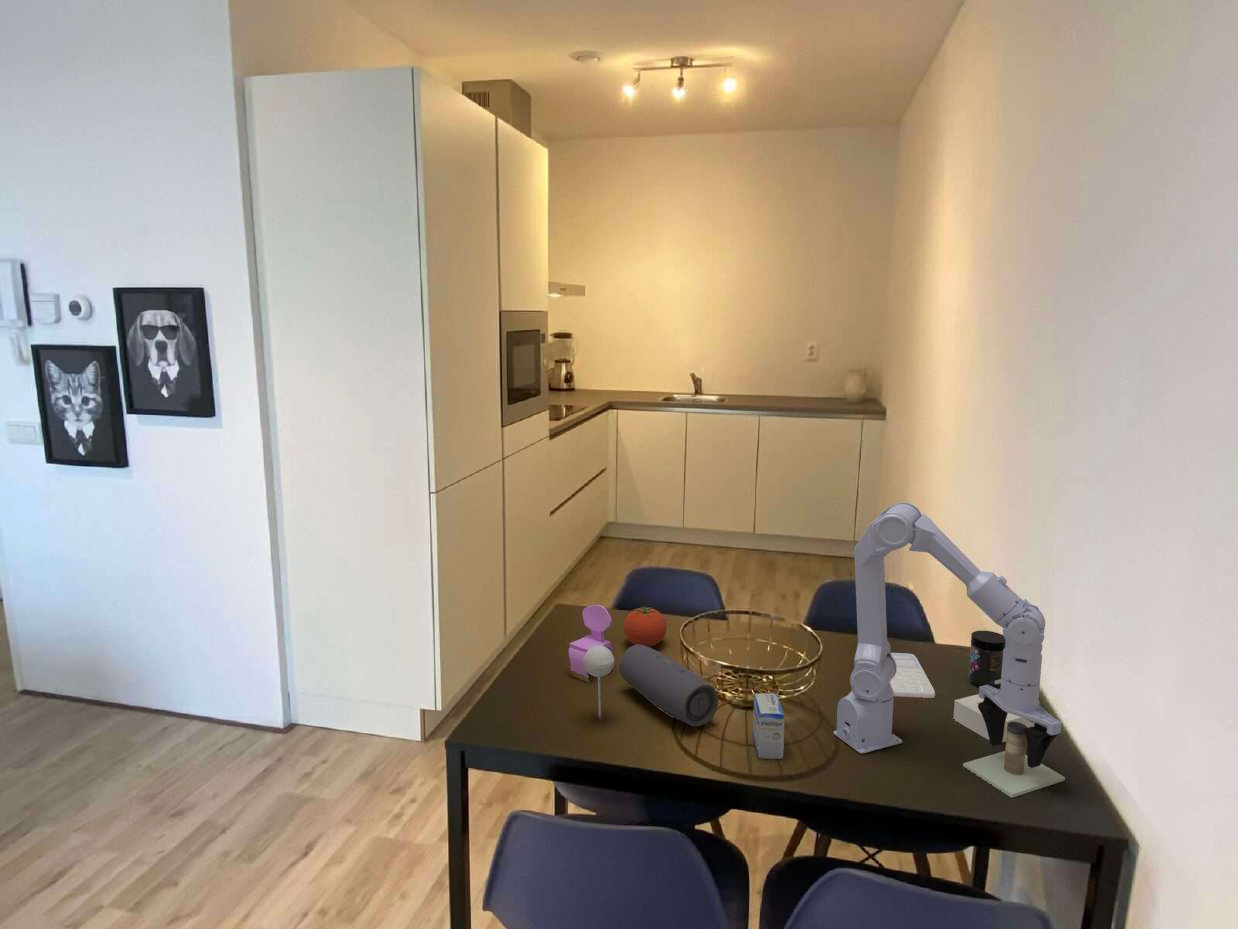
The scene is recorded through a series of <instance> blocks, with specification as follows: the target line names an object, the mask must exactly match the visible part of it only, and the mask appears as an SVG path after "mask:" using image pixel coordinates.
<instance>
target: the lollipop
mask: <svg viewBox="0 0 1238 929" xmlns="http://www.w3.org/2000/svg"><path fill="white" fill-rule="evenodd" d="M583 664H584V667H585V669H586V671H587V673H588V675H590V676H592V677H595V678H597V692H598V693H597V696H598V699H597V700H598V701H597V702H598V703H597V704H598V706H597V707H598V716H599V715H601V716H602V708H601V707H602V699H601V697H602V696H601V678H602V677H605V676H608V675H609V674H610V673H611V672H612V671H613V670H612V668H613V665H614V666H615V657H614V654H613V653H612V650H611V651H610V650H609V649H608V648H606V647H604V646H594V647H592V648H590V649H589V650H588V651H587V652H586V654H585V656H584V658H583Z"/></svg>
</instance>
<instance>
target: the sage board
mask: <svg viewBox="0 0 1238 929" xmlns="http://www.w3.org/2000/svg"><path fill="white" fill-rule="evenodd" d="M1027 755H1028V754H1025V763H1024V773H1023V774H1021V775H1014V774H1010V773H1008V772H1006V771H1005V770H1004V761H1005V750H1004V751H1000V752H997V753H994V754H990V755H987V756H983V757H979V758H977V759H973V760H970V761H966V762H963V763H962V767H963V768H964V767H965V768H964V769H966V768H967V769H966V770H968V771H969V770H970V771H969V772H971V773H972V774H974V773H975V774H976V775H975V774H974V775H975V776H977V777H978V778H980V777H981V778H980V779H982V781H985V782H986V781H987V783H988V784H990V785H991V784H992V785H991V786H993V787H994V788H995V789H997V790H998V791H1000V790H1001V791H1000V792H1002V793H1004V794H1005V795H1006V796H1008V797H1010V798H1011V799H1012V798H1016V797H1018V796H1021V795H1025V794H1028V793H1031V792H1033V791H1037V790H1040V789H1043V788H1047V787H1049V786H1051V785H1057V784H1058V783H1061V782H1065V781H1066V780H1065V779H1066V777H1065V776H1064V775H1062V774H1060V773H1059V772H1057V771H1055V770H1053V769H1052V768H1050V767H1049V766H1046V765H1045V764H1043V763H1041V764H1040V766H1037V767H1034V768H1030V767H1029V766H1028V763H1027Z"/></svg>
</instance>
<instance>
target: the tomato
mask: <svg viewBox="0 0 1238 929" xmlns="http://www.w3.org/2000/svg"><path fill="white" fill-rule="evenodd" d="M623 631H624V634H625V637H626V638H627V639H628V641H629V642H631V643H632V644H633V645H638V644H640V645H644V646H647V647H650V648H652V647H653V646H655V645H657V644H658V645H659V643H660V642H661V641H662V640H663V639H664V637H665V635H666V632H667V622H666V619H665V617H664V615H663V614H662V613H661V612H660V611H659V610H657V609H655V608H653V607H649V606H648V607H646V605H644V606H640V607H639V608H634V609H631V611H630V612H628V614H627V616H626V617H625V620H624V622H623Z"/></svg>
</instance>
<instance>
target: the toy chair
mask: <svg viewBox="0 0 1238 929" xmlns="http://www.w3.org/2000/svg"><path fill="white" fill-rule="evenodd" d="M582 618H583V619H582V620H583V622H584V625H585V627H587V628H588V629H589V630H590V631H591V633H590V634H588V635H585V636H584V637H582V638H580V639H577V640H574V641H571V642H569V648H568V657H569V662H570V663H569V664H570V669H569V670H571V671H575V672H576V673H578V674H582V675H584V676H586V677H587V678H590V676H589V673H588V672H587V671H586V669H585V667H584V664H583V658H584V656H585V654H586V652H587V651H588V650H589V649H590V648H592V647H594V646H604V647H606V648H608V649H609V650H610V651H611V652H612V650H613V646H612V644H611V641H610V640H606V639H605V631H606V630H608V629H609V628H610V627H611V625H612V617H611V615H610V613H609V612H608V610H607V608H606V607H604V606H603V605H600V604H591V605H588V606H586V607H584V608H583V610H582ZM613 666H614V667H615V664H614V665H613Z"/></svg>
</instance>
